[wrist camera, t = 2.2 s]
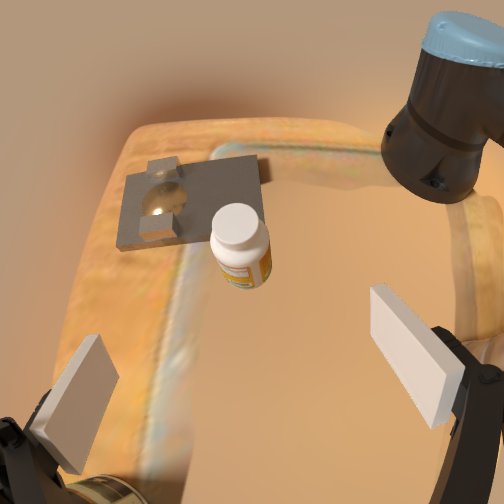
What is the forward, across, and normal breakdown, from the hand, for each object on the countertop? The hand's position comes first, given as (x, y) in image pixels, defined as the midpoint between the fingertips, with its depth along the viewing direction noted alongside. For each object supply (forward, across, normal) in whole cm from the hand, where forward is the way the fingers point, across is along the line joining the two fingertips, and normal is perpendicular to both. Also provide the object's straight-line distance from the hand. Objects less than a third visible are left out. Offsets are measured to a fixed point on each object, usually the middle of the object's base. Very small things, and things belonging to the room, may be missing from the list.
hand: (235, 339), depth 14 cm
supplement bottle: (+21, +1, -5) cm, 21 cm away
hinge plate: (+28, -5, +2) cm, 28 cm away
